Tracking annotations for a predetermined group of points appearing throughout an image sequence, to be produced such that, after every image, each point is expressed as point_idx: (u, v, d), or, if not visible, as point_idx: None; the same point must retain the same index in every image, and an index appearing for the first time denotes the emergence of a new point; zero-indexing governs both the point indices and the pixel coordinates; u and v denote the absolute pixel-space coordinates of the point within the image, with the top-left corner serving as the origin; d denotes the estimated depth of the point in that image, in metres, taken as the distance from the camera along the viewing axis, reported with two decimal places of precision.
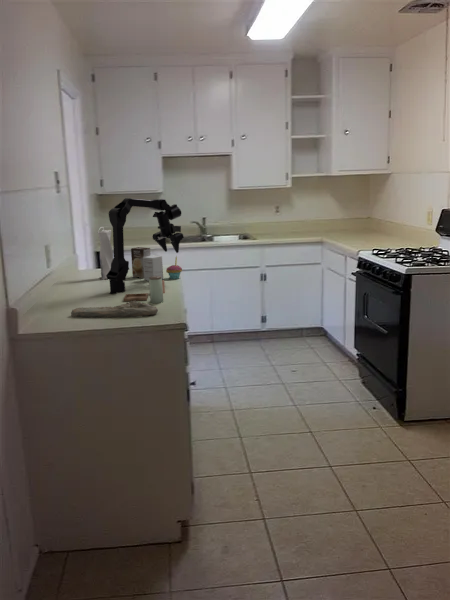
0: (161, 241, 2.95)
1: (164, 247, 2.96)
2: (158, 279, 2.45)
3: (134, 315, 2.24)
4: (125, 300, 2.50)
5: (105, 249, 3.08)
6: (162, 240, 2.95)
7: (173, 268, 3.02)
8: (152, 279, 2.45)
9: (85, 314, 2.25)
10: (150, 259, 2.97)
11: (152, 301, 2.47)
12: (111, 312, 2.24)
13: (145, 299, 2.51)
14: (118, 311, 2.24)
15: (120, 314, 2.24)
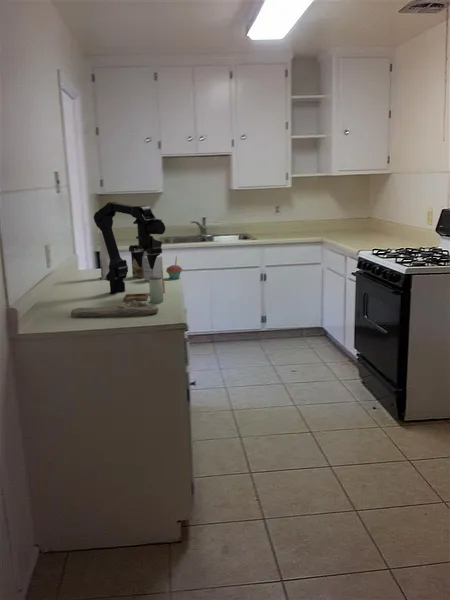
0: (137, 254, 2.62)
1: (139, 262, 2.63)
2: (158, 279, 2.45)
3: (135, 314, 2.25)
4: (125, 300, 2.50)
5: (105, 249, 3.08)
6: (138, 253, 2.63)
7: (173, 268, 3.02)
8: (152, 279, 2.45)
9: (86, 314, 2.25)
10: None
11: (152, 301, 2.47)
12: (112, 312, 2.24)
13: (145, 299, 2.51)
14: (119, 311, 2.24)
15: (121, 314, 2.24)
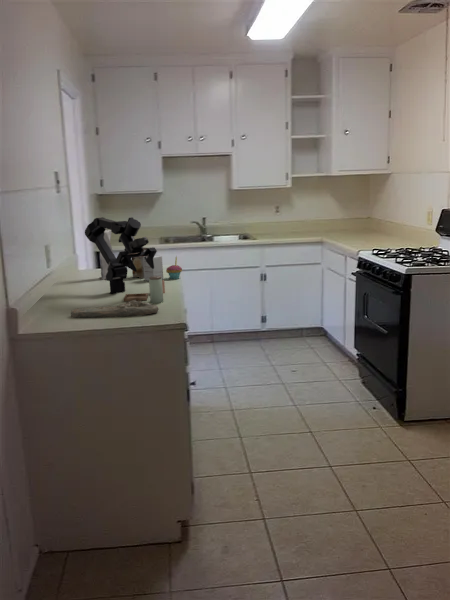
0: (147, 259, 2.59)
1: (150, 265, 2.57)
2: (158, 279, 2.45)
3: (136, 314, 2.26)
4: (125, 300, 2.50)
5: None
6: (148, 258, 2.58)
7: (173, 268, 3.02)
8: (152, 279, 2.45)
9: (86, 314, 2.25)
10: None
11: (152, 301, 2.47)
12: (113, 312, 2.25)
13: (145, 299, 2.51)
14: (120, 310, 2.24)
15: (122, 313, 2.25)
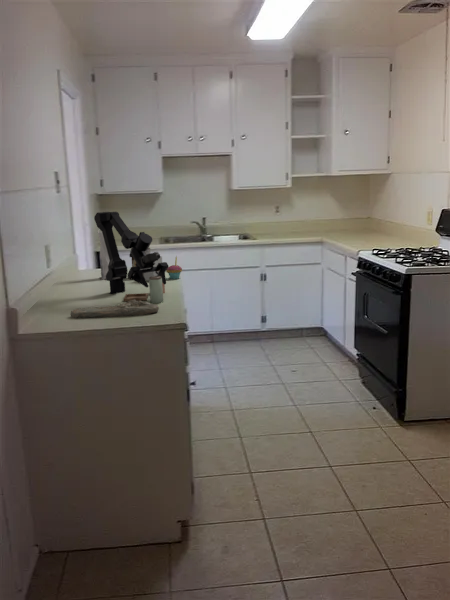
0: (159, 274, 2.53)
1: (162, 280, 2.51)
2: (158, 279, 2.45)
3: (137, 313, 2.26)
4: (125, 300, 2.50)
5: (105, 249, 3.08)
6: (159, 273, 2.53)
7: (173, 268, 3.02)
8: (152, 279, 2.45)
9: (86, 315, 2.24)
10: None
11: (152, 301, 2.47)
12: (113, 311, 2.25)
13: (145, 299, 2.51)
14: (121, 310, 2.25)
15: (123, 313, 2.25)
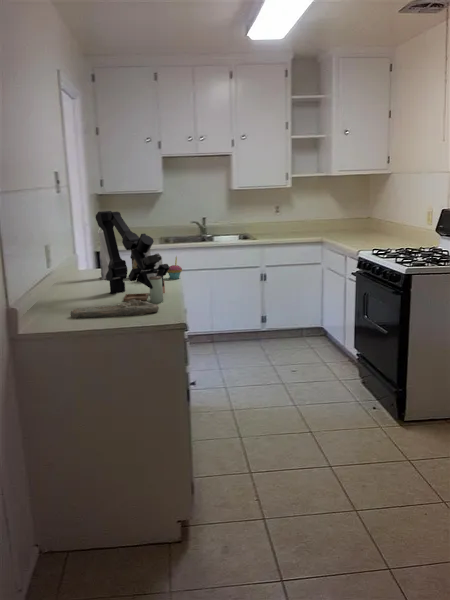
0: None
1: None
2: (158, 279, 2.45)
3: (137, 313, 2.27)
4: (125, 300, 2.50)
5: (105, 249, 3.08)
6: (157, 275, 2.52)
7: (173, 268, 3.02)
8: (152, 279, 2.45)
9: (87, 314, 2.24)
10: None
11: (152, 301, 2.47)
12: (114, 311, 2.25)
13: (145, 299, 2.51)
14: (121, 310, 2.25)
15: (123, 313, 2.26)
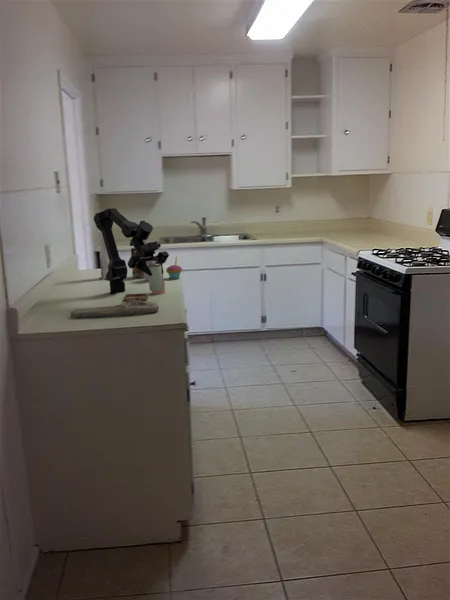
0: None
1: None
2: (157, 266, 2.44)
3: (137, 313, 2.27)
4: (125, 300, 2.50)
5: (105, 249, 3.08)
6: (157, 262, 2.50)
7: (173, 268, 3.02)
8: (151, 266, 2.44)
9: (87, 315, 2.24)
10: None
11: (151, 288, 2.46)
12: (114, 311, 2.25)
13: (145, 299, 2.51)
14: (122, 310, 2.25)
15: (124, 313, 2.26)
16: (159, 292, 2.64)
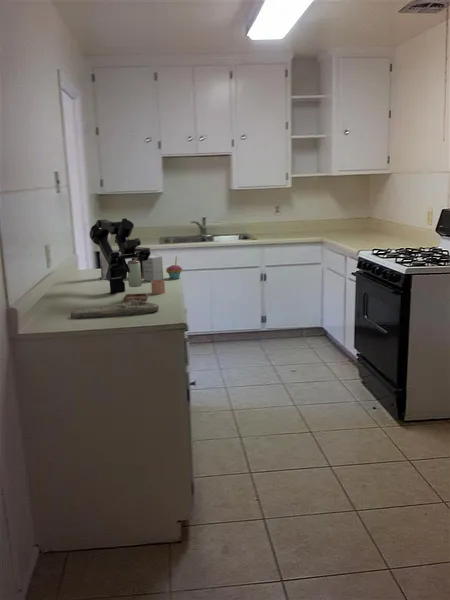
0: None
1: None
2: (135, 263, 2.50)
3: (138, 313, 2.28)
4: (125, 300, 2.50)
5: None
6: None
7: (173, 268, 3.02)
8: (129, 263, 2.50)
9: (87, 315, 2.24)
10: (150, 259, 2.97)
11: (130, 285, 2.52)
12: (115, 311, 2.26)
13: (145, 299, 2.51)
14: (122, 310, 2.26)
15: (124, 312, 2.26)
16: (159, 292, 2.64)
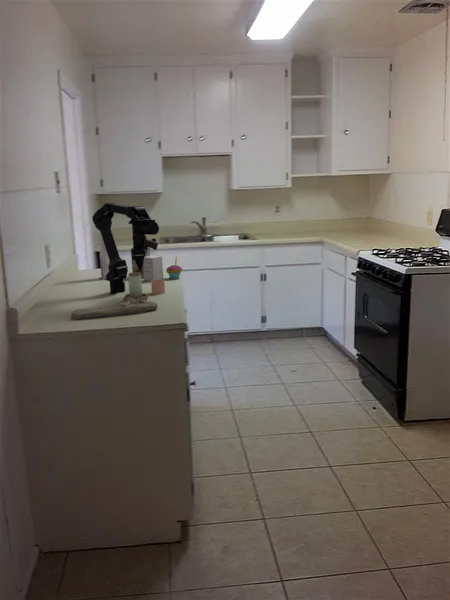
0: None
1: None
2: (136, 276, 2.51)
3: (139, 311, 2.30)
4: (125, 300, 2.50)
5: (105, 249, 3.08)
6: None
7: (173, 268, 3.02)
8: (130, 275, 2.51)
9: (90, 315, 2.23)
10: (150, 259, 2.97)
11: (130, 297, 2.53)
12: (117, 310, 2.26)
13: (145, 299, 2.51)
14: (124, 309, 2.27)
15: (126, 311, 2.28)
16: (159, 292, 2.64)
